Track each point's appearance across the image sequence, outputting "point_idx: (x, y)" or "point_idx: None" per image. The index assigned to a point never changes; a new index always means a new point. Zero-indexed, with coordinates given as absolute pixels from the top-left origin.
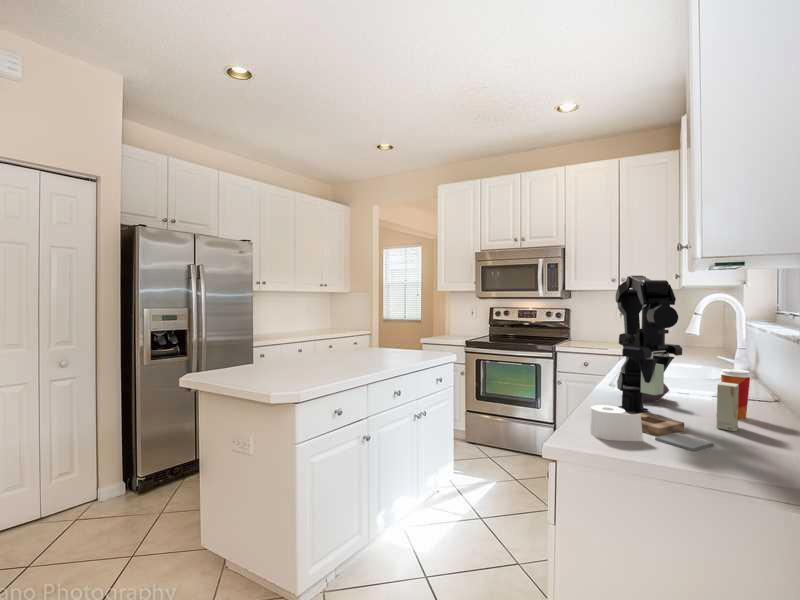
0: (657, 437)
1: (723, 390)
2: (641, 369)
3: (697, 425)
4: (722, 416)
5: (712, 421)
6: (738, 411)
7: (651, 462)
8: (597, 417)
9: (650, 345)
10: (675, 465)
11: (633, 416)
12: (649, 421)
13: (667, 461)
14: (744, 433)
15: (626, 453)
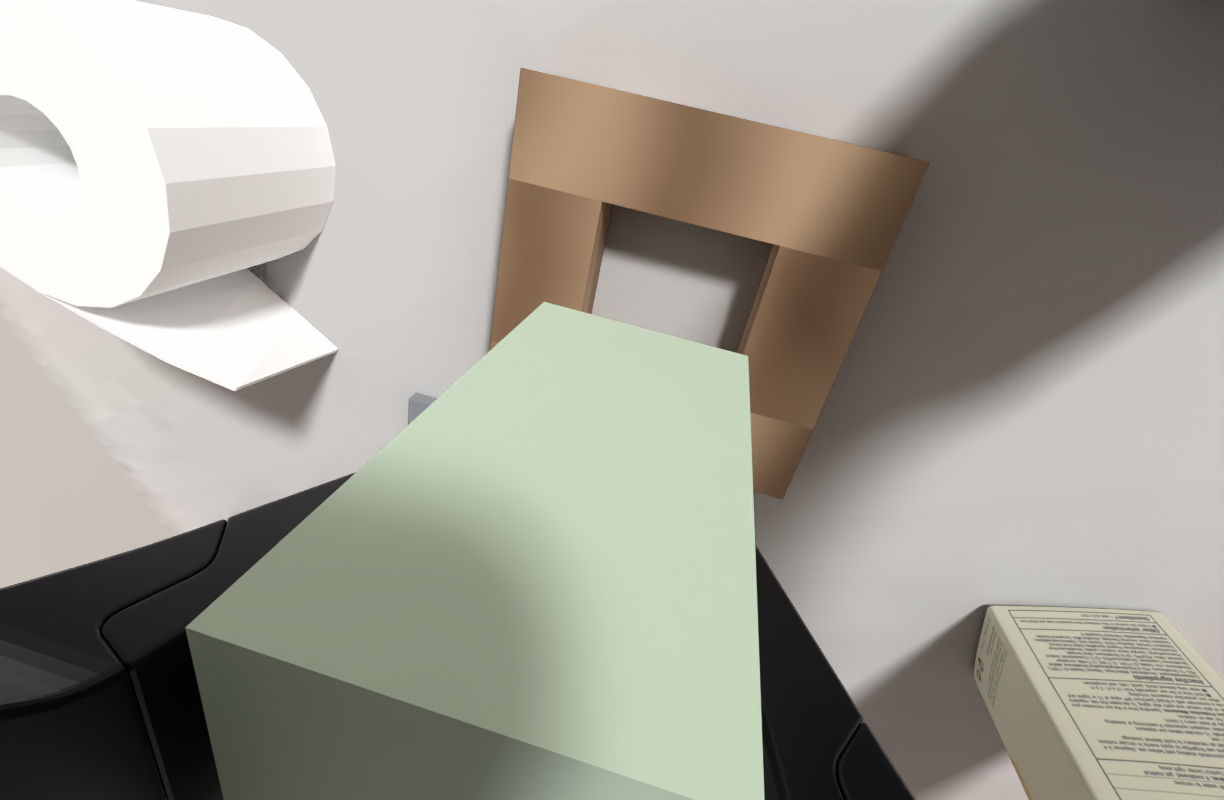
0: (418, 408)
1: None
2: (194, 546)
3: (998, 511)
4: (1020, 703)
5: None
6: None
7: (130, 457)
8: None
9: None
10: (191, 524)
11: (176, 357)
12: (772, 256)
13: (198, 497)
14: (969, 704)
15: (108, 354)
